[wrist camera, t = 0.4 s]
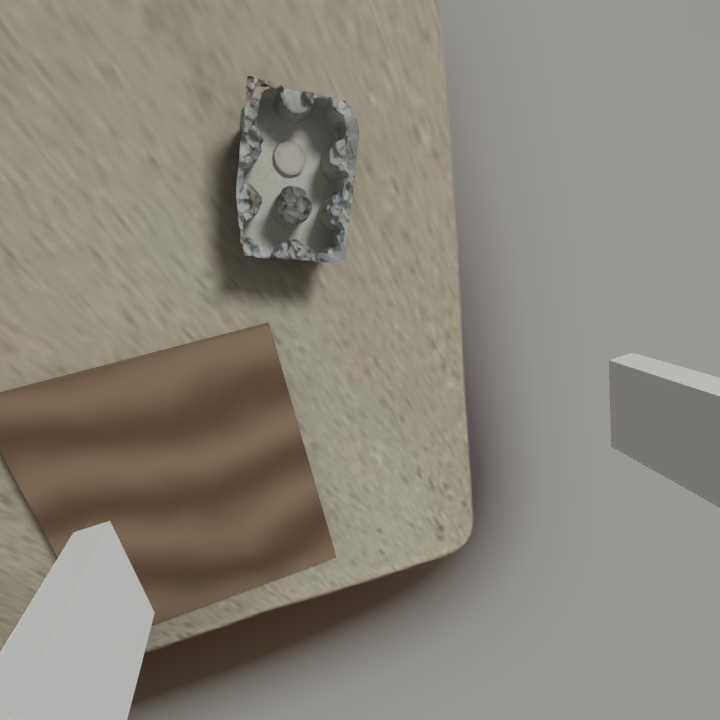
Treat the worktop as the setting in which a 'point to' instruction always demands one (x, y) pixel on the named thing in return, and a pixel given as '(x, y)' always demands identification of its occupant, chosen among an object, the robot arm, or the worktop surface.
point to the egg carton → (295, 173)
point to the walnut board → (174, 467)
